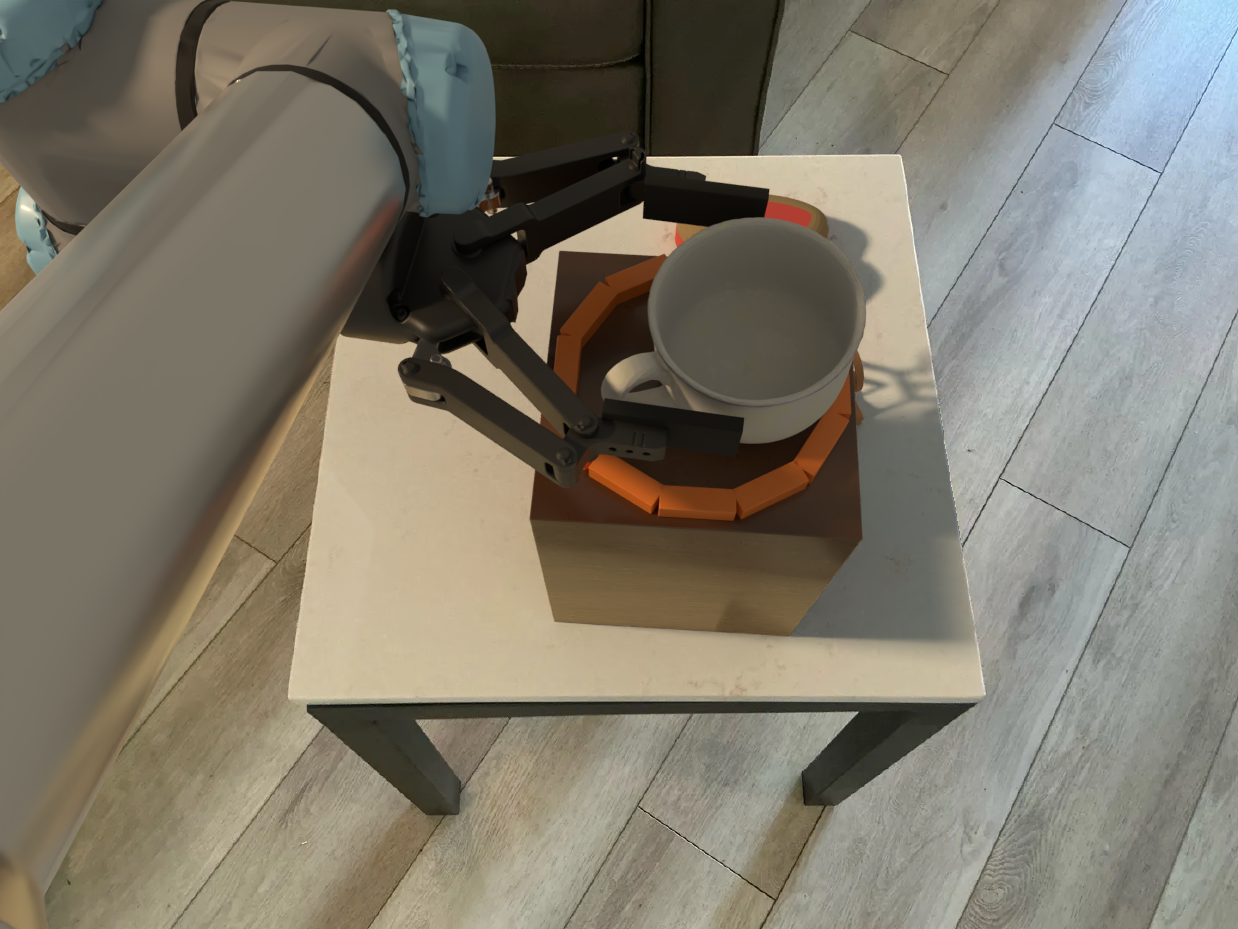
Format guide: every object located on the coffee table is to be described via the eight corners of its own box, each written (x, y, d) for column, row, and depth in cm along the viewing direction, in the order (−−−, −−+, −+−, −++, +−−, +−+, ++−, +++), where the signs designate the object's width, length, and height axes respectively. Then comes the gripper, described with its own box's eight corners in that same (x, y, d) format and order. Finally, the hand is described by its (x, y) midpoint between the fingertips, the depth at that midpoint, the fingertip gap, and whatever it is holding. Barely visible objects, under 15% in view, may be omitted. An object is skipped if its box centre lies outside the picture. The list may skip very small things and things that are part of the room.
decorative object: (859, 295, 76) (687, 318, 75) (848, 320, 79) (684, 342, 78) (819, 173, 82) (659, 193, 80) (811, 201, 85) (657, 220, 84)
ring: (851, 528, 48) (856, 520, 47) (541, 509, 48) (539, 501, 47) (838, 273, 55) (843, 260, 54) (567, 258, 55) (566, 245, 54)
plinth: (789, 636, 68) (863, 539, 48) (553, 621, 68) (529, 519, 48) (785, 426, 75) (848, 265, 55) (573, 413, 75) (559, 250, 55)
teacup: (813, 282, 53) (820, 189, 46) (882, 436, 48) (902, 360, 41) (590, 350, 53) (563, 269, 46) (637, 510, 49) (615, 447, 41)
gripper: (417, 136, 54) (763, 179, 53) (293, 512, 44) (718, 576, 43) (389, 31, 47) (785, 77, 46) (234, 446, 37) (738, 521, 36)
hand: (754, 317), depth 45 cm, fingers open, 13 cm apart
